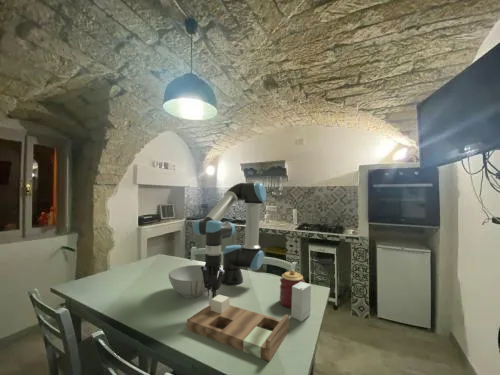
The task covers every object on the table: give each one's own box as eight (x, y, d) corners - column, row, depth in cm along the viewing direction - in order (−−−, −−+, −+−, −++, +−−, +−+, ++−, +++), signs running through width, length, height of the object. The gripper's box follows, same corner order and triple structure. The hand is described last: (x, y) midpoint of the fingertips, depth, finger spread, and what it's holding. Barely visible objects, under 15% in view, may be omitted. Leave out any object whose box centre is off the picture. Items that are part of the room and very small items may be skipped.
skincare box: (300, 311, 116) (300, 280, 116) (311, 315, 112) (311, 284, 112) (290, 317, 110) (291, 285, 110) (301, 322, 106) (302, 289, 106)
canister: (285, 310, 116) (286, 274, 117) (276, 298, 129) (276, 266, 129) (309, 307, 120) (309, 272, 120) (297, 296, 132) (297, 265, 133)
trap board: (186, 329, 99) (187, 312, 99) (215, 309, 116) (215, 294, 116) (269, 361, 81) (269, 341, 81) (288, 331, 98) (288, 315, 98)
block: (210, 310, 107) (211, 299, 107) (218, 304, 112) (219, 294, 112) (221, 313, 104) (221, 302, 104) (229, 308, 109) (229, 297, 109)
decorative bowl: (205, 307, 118) (206, 283, 118) (157, 301, 123) (158, 278, 124) (222, 286, 144) (222, 266, 144) (182, 282, 150) (182, 263, 150)
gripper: (197, 253, 111) (195, 303, 110) (219, 257, 105) (218, 310, 104) (207, 250, 117) (206, 297, 117) (229, 253, 111) (227, 304, 111)
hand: (211, 303), depth 110 cm, fingers closed
